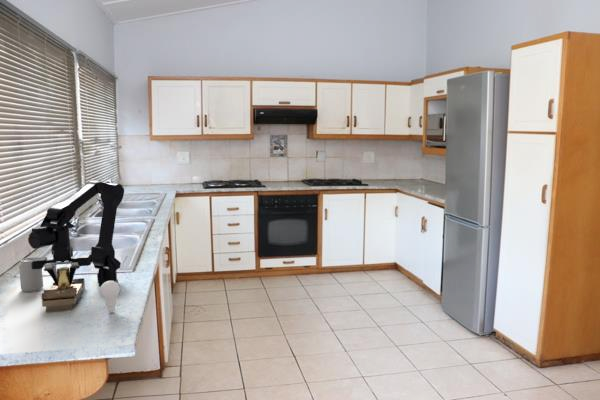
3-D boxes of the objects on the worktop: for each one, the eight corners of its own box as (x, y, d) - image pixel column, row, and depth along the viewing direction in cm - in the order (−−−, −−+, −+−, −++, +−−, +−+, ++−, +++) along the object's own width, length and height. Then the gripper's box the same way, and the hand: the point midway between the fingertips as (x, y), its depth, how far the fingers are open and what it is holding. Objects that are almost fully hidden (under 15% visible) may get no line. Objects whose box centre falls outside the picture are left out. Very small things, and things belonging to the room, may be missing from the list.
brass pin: (72, 293, 180) (70, 266, 178) (70, 297, 176) (68, 269, 174) (60, 294, 179) (58, 267, 177) (57, 298, 175) (55, 270, 173)
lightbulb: (98, 312, 166) (96, 280, 164) (116, 307, 170) (114, 276, 168) (106, 317, 162) (104, 285, 160) (124, 312, 166) (122, 281, 164)
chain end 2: (85, 288, 190) (84, 277, 189) (78, 303, 174) (77, 291, 174) (56, 290, 187) (55, 279, 186) (46, 306, 172) (45, 293, 171)
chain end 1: (82, 293, 184) (81, 277, 183) (75, 309, 168) (74, 291, 167) (52, 296, 181) (51, 279, 180) (42, 312, 166) (41, 294, 165)
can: (47, 286, 192) (44, 256, 190) (37, 293, 185) (35, 261, 183) (27, 286, 192) (24, 256, 190) (17, 293, 184) (14, 261, 183)
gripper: (92, 235, 184) (95, 276, 187) (37, 238, 180) (40, 280, 182) (88, 242, 174) (91, 285, 176) (29, 246, 169) (33, 290, 171)
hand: (64, 285), depth 177 cm, fingers closed on brass pin, 4 cm apart
